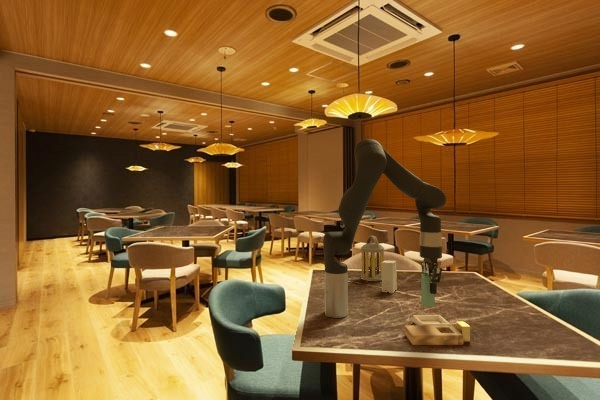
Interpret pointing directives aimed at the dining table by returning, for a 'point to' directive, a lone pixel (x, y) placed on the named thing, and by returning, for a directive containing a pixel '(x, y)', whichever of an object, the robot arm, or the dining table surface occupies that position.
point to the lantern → (372, 259)
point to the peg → (426, 292)
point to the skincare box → (389, 276)
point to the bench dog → (464, 330)
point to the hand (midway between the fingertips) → (430, 291)
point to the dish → (429, 320)
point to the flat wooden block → (433, 335)
